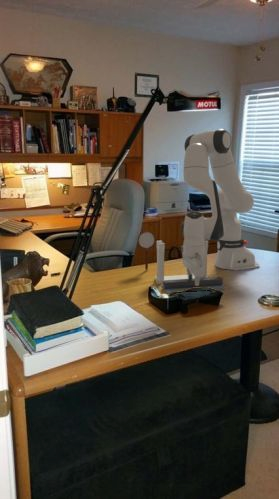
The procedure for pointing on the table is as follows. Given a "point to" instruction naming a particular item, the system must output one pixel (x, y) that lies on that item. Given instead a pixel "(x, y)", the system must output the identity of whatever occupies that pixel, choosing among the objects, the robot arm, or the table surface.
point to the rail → (192, 283)
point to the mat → (188, 288)
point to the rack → (160, 264)
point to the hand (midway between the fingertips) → (193, 281)
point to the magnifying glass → (146, 244)
